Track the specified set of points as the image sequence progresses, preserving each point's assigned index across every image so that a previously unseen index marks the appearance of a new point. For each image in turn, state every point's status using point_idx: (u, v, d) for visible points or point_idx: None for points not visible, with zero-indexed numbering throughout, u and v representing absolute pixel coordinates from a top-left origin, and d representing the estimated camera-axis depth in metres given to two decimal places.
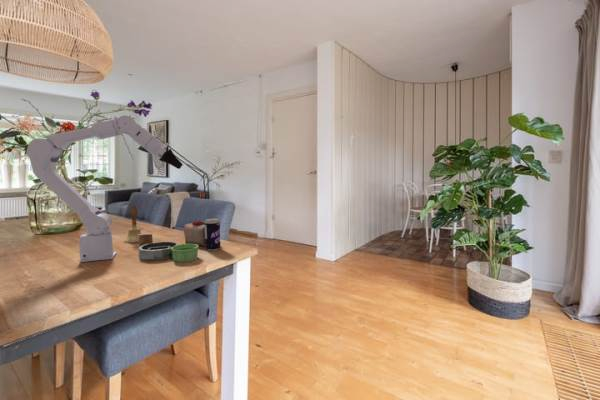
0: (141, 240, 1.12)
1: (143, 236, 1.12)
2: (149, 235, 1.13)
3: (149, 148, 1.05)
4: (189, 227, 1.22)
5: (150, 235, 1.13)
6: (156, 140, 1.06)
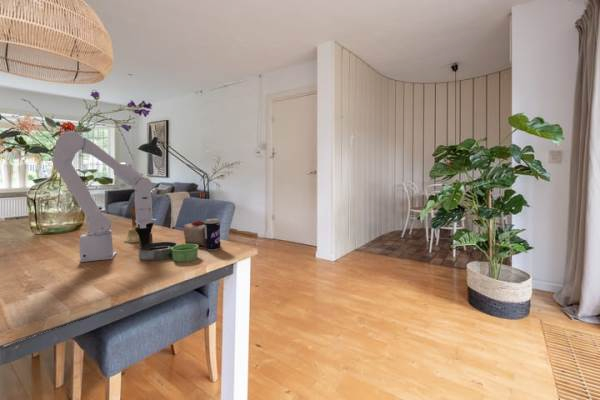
0: None
1: None
2: None
3: (138, 213, 1.09)
4: (189, 227, 1.22)
5: (150, 235, 1.13)
6: (149, 212, 1.11)
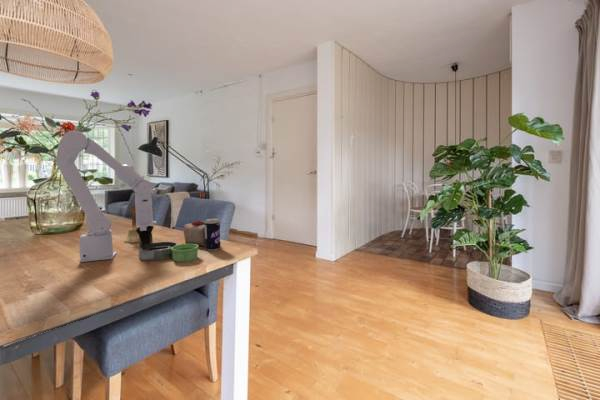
0: None
1: None
2: None
3: (138, 215, 1.10)
4: (189, 227, 1.22)
5: None
6: (150, 214, 1.11)
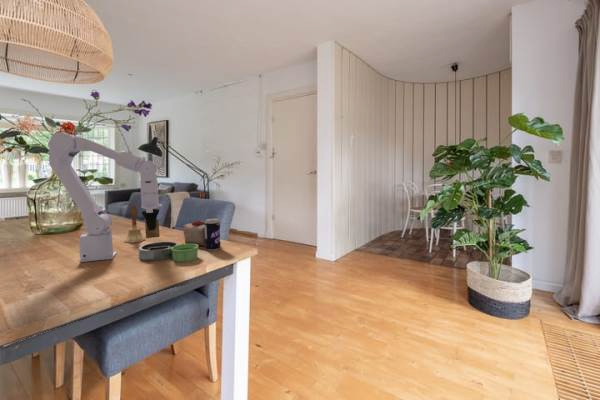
0: None
1: None
2: None
3: (144, 198, 1.06)
4: (189, 227, 1.22)
5: (157, 221, 1.09)
6: (156, 197, 1.08)
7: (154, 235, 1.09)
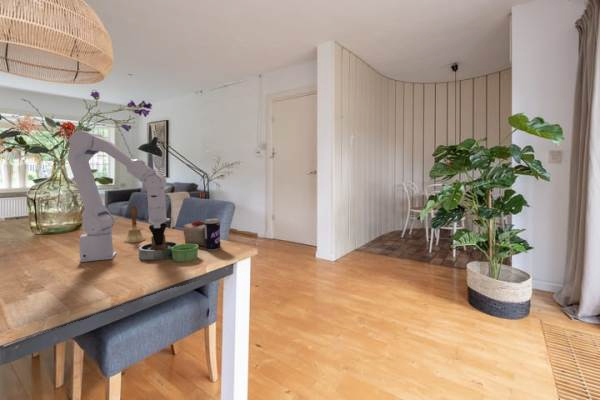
0: (154, 242, 1.06)
1: None
2: None
3: (151, 212, 1.03)
4: (189, 227, 1.22)
5: (163, 237, 1.07)
6: (163, 211, 1.05)
7: None
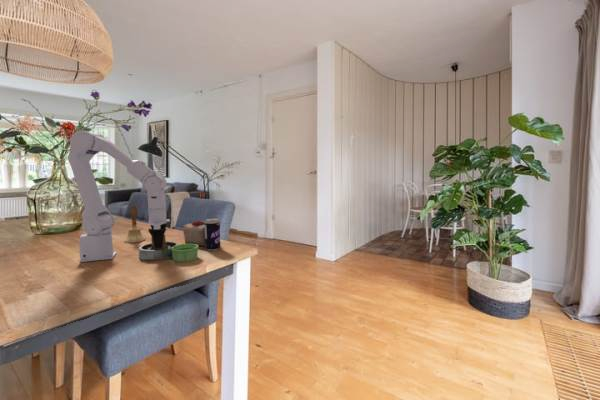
0: None
1: None
2: None
3: (151, 213, 1.03)
4: (189, 227, 1.22)
5: (163, 237, 1.07)
6: (163, 212, 1.05)
7: None
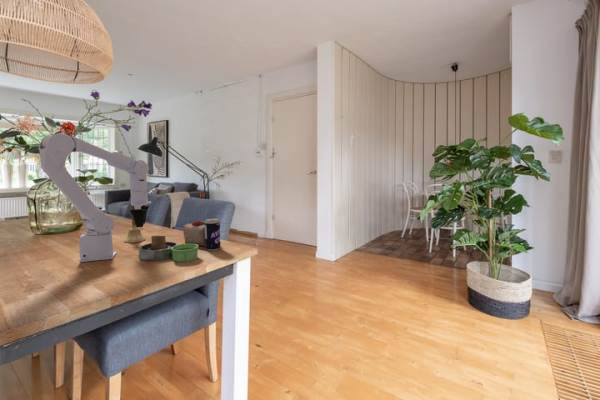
0: (154, 242, 1.06)
1: (156, 238, 1.06)
2: (162, 237, 1.06)
3: (133, 195, 1.11)
4: (189, 227, 1.21)
5: (163, 237, 1.07)
6: (144, 194, 1.13)
7: None
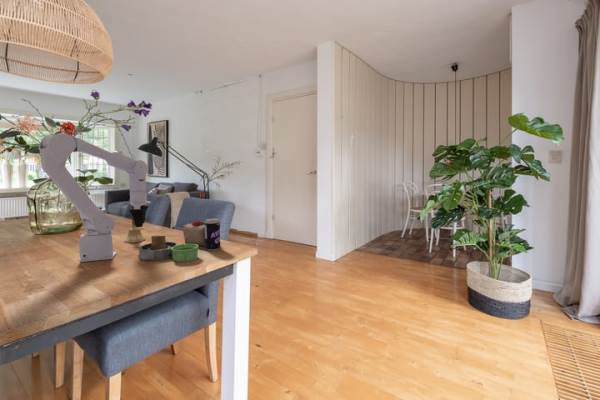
0: (154, 242, 1.06)
1: (156, 238, 1.06)
2: (162, 237, 1.06)
3: (132, 195, 1.12)
4: (189, 227, 1.21)
5: (163, 237, 1.07)
6: (143, 194, 1.13)
7: None
